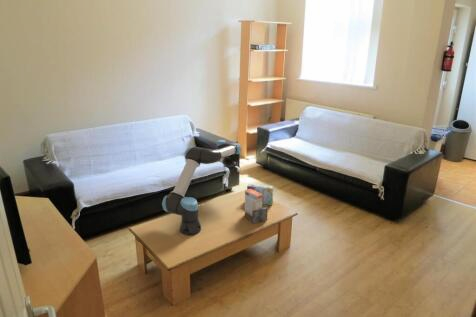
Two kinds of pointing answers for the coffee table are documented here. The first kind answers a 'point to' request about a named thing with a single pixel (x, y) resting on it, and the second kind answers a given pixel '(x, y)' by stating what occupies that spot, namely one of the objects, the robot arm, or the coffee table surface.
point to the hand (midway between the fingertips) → (239, 170)
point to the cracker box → (252, 201)
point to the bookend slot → (257, 215)
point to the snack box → (263, 192)
